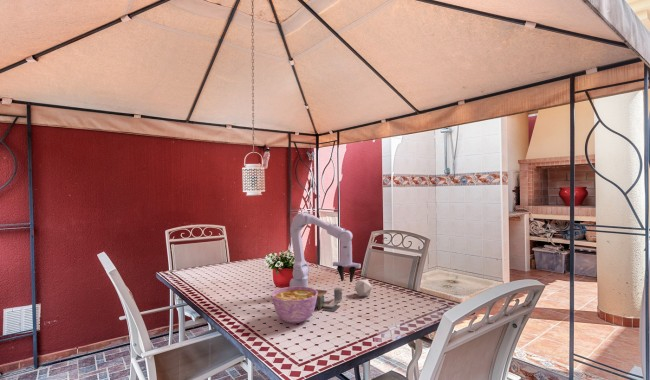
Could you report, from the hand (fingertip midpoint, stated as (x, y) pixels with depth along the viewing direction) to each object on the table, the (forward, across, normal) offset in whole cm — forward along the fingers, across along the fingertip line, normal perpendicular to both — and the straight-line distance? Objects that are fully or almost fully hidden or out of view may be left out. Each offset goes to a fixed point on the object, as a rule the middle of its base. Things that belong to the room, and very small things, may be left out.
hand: (346, 281), depth 164 cm
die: (+10, +6, +9) cm, 14 cm away
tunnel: (+9, -10, -14) cm, 20 cm away
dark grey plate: (+9, -3, -14) cm, 17 cm away
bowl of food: (+10, -13, -32) cm, 36 cm away
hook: (+9, -7, -9) cm, 15 cm away
